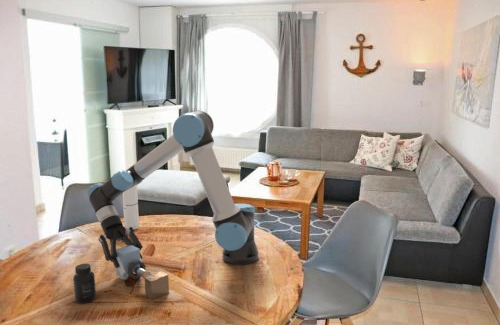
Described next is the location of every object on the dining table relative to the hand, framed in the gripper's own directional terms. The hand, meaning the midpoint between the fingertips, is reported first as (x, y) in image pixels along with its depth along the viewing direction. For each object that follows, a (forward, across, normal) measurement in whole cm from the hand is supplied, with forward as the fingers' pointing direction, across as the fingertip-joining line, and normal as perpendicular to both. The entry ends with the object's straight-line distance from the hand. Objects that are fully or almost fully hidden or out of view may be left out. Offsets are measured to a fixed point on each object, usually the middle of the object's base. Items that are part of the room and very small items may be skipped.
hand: (133, 270), depth 157 cm
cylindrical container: (-34, -29, -39) cm, 59 cm away
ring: (+3, 0, +1) cm, 3 cm away
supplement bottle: (+3, +19, -2) cm, 19 cm away
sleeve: (0, 0, -5) cm, 5 cm away
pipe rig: (+6, 0, +1) cm, 6 cm away
